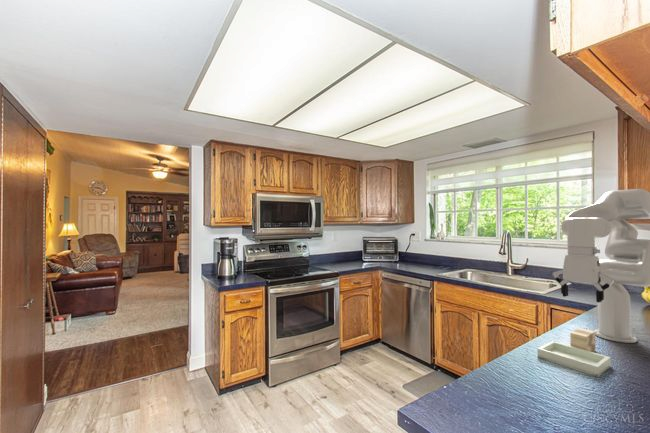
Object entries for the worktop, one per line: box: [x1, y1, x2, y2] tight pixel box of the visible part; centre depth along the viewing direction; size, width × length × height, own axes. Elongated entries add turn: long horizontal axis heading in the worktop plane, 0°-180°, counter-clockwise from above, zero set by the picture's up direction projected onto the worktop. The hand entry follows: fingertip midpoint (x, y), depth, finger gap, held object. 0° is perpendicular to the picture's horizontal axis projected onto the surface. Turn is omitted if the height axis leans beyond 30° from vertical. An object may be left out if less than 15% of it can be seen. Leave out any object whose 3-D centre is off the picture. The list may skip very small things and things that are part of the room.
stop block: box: [569, 327, 597, 353], centre depth 108 cm, size 9×4×7 cm, turn 123°
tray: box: [536, 340, 612, 378], centre depth 100 cm, size 12×16×3 cm
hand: (581, 298), depth 108 cm, fingers open, 9 cm apart
